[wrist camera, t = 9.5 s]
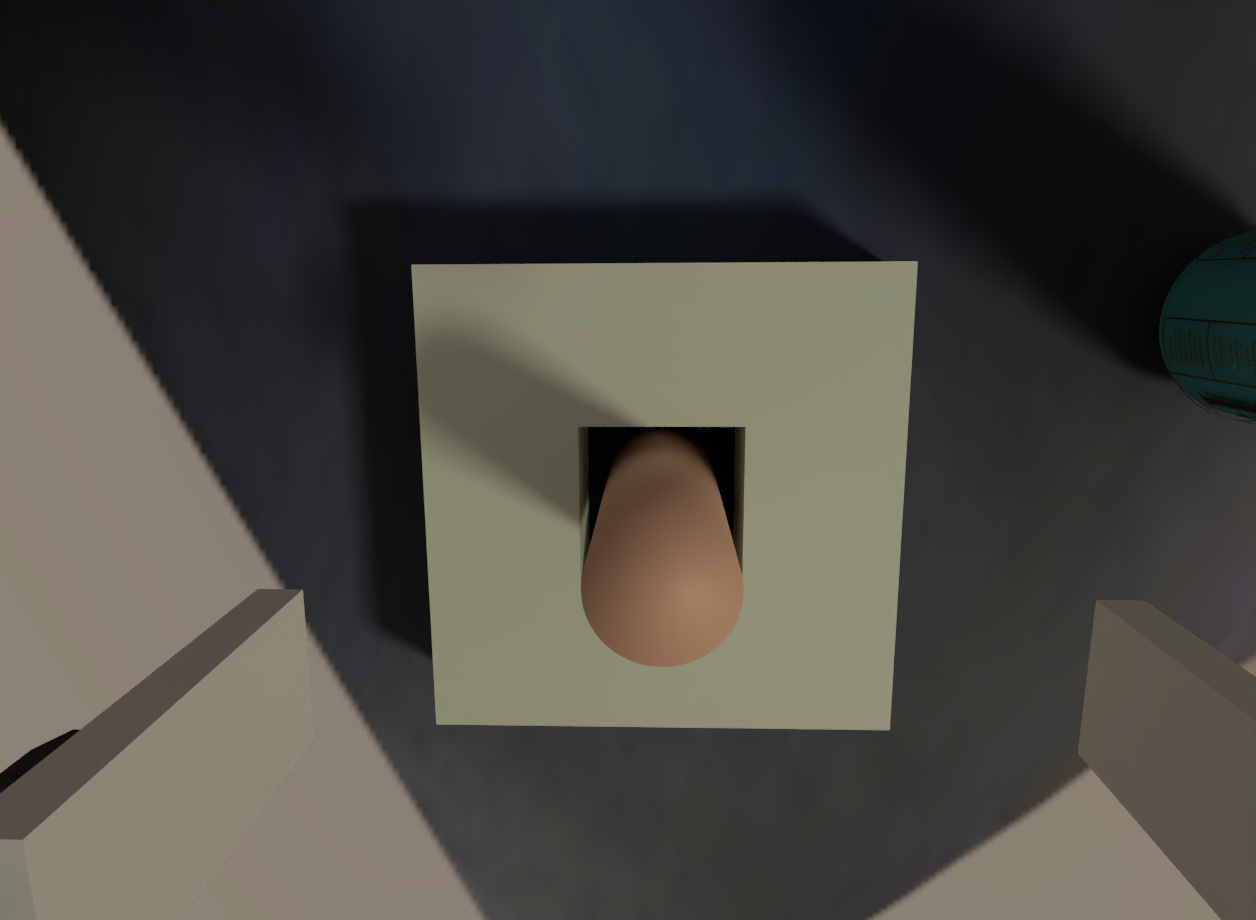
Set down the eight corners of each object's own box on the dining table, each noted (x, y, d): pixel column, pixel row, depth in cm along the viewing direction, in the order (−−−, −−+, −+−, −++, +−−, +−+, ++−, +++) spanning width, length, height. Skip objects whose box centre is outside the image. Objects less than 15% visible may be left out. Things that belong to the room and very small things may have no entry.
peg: (608, 428, 33) (579, 512, 21) (714, 428, 33) (745, 512, 21) (609, 531, 34) (581, 666, 22) (713, 532, 34) (742, 668, 22)
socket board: (441, 266, 32) (411, 264, 28) (885, 263, 31) (917, 261, 27) (461, 674, 35) (436, 724, 31) (863, 678, 35) (889, 730, 31)
